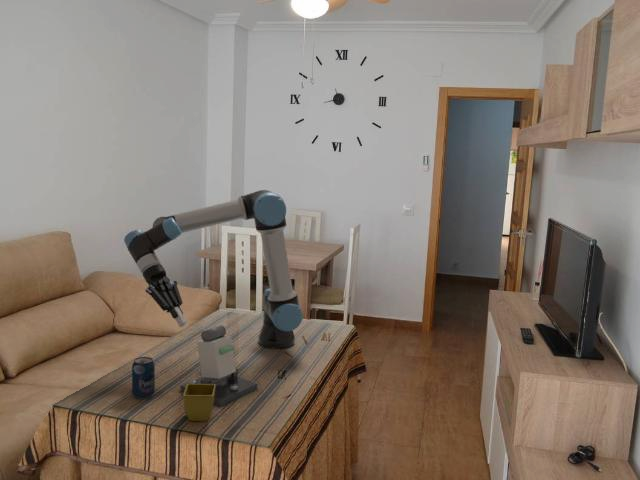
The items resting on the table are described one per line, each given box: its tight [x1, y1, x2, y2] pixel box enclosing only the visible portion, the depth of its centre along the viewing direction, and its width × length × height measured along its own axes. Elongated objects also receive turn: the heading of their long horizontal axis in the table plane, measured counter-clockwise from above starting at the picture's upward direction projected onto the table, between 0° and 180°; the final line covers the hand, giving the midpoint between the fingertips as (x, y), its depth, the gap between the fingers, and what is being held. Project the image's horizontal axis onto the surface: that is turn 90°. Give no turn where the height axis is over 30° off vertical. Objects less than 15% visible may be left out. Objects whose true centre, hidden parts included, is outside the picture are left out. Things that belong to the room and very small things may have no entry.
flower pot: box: [182, 384, 216, 422], centre depth 179 cm, size 9×9×9 cm
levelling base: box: [179, 368, 259, 408], centre depth 200 cm, size 18×18×6 cm
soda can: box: [131, 356, 156, 400], centre depth 192 cm, size 7×7×12 cm
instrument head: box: [196, 325, 237, 384], centre depth 199 cm, size 10×10×18 cm
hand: (183, 324), depth 206 cm, fingers closed
